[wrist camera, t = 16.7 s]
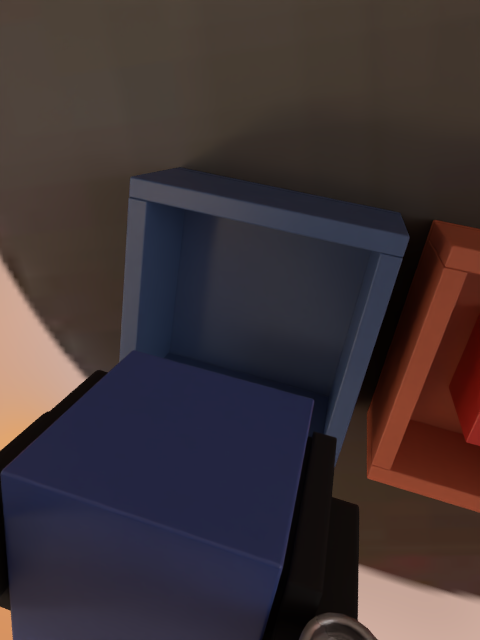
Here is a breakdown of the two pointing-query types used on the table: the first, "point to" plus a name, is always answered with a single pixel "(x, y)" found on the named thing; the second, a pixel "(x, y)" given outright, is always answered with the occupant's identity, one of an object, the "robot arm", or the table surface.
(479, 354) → the red block
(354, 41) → the table surface
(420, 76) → the table surface
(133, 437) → the blue block
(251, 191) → the blue bin
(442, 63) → the table surface
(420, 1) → the table surface
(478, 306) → the terracotta bin
